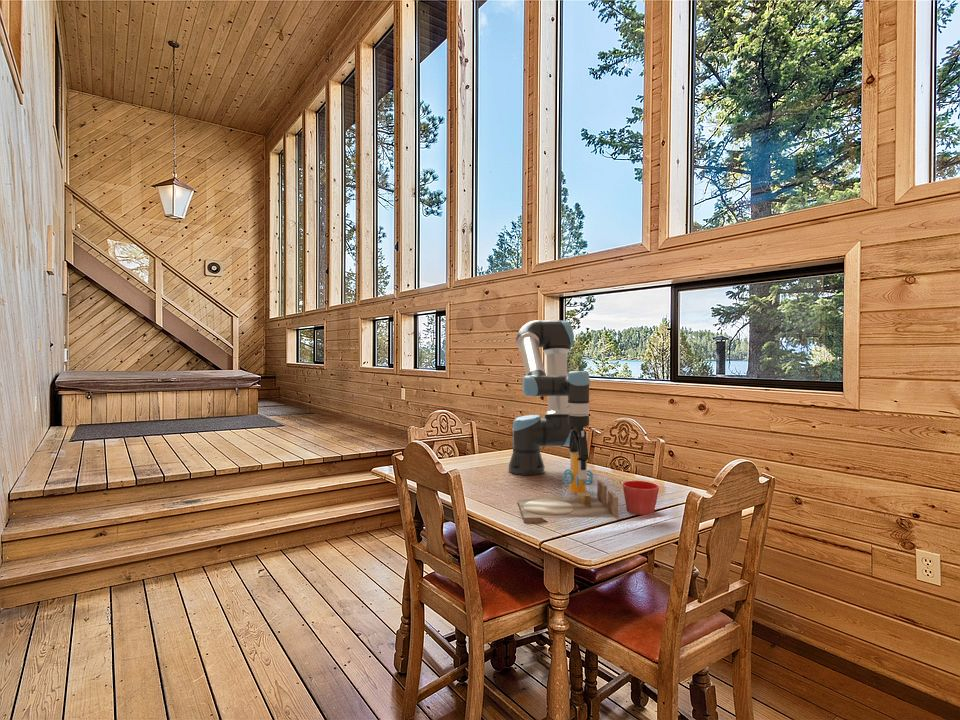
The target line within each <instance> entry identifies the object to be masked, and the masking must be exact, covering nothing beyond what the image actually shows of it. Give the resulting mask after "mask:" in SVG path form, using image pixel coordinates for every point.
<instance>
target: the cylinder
mask: <svg viewBox="0 0 960 720" xmlns="http://www.w3.org/2000/svg"><path fill="white" fill-rule="evenodd" d="M578 458H579V453H578V452H574V453H572V470H570V468H569V469H568V468H567V469H565V470H563V471H564V472H563V475H562V481H563V483H564V484H565V485H569V486H568V487H569V488H568V489H569V492H570V493H572V494H577V495H578V493H580V492H585V493H587V486H590V485H592V484H593V481H594V480H593V478H594V475H593V472H592V471H591V470H589V469H587V477H589V479H578V460H577V459H578ZM568 475H570V478H568V477H567V476H568Z"/></svg>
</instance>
